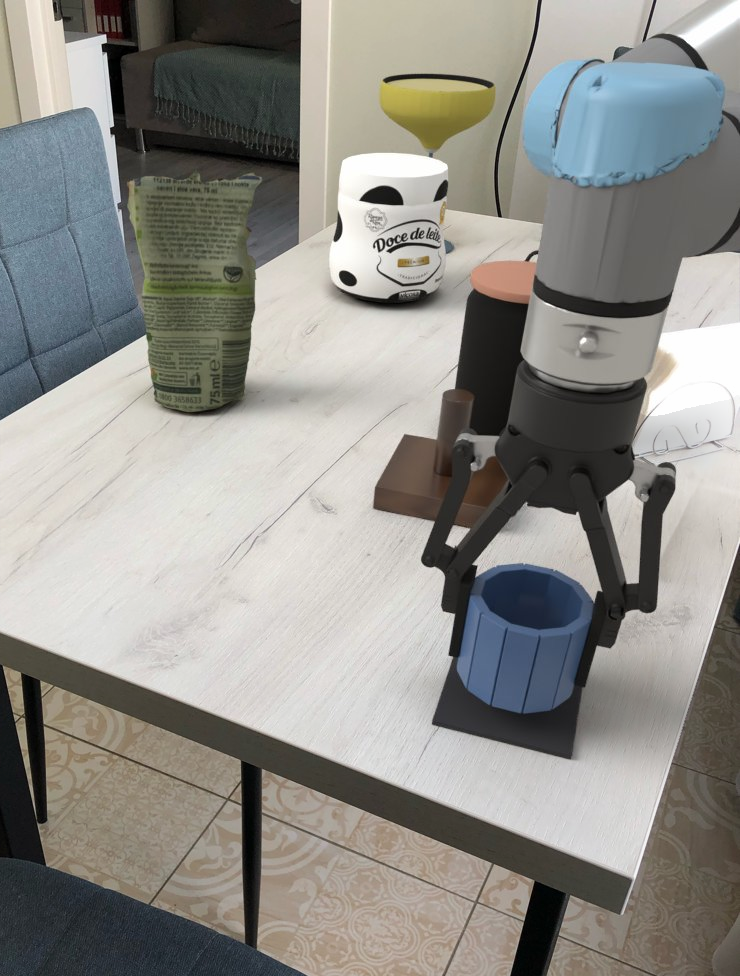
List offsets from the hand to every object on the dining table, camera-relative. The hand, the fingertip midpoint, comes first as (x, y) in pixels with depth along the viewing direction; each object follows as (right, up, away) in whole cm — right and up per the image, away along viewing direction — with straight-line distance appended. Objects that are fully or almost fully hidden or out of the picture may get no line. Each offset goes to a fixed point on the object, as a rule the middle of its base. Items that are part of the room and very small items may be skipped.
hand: (518, 659), depth 69 cm
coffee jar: (+6, +22, +36) cm, 43 cm away
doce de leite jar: (-2, +51, +74) cm, 90 cm away
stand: (-1, +15, +27) cm, 31 cm away
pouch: (-27, +29, +43) cm, 59 cm away
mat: (0, -3, +2) cm, 4 cm away
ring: (0, -1, +1) cm, 1 cm away
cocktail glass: (+6, +65, +93) cm, 114 cm away
